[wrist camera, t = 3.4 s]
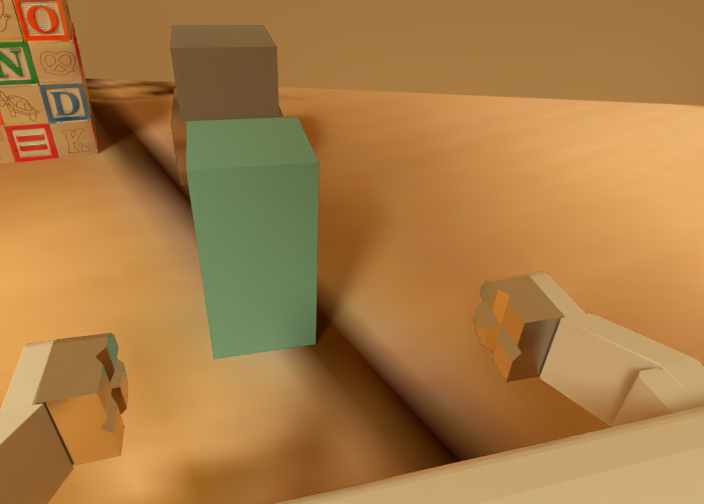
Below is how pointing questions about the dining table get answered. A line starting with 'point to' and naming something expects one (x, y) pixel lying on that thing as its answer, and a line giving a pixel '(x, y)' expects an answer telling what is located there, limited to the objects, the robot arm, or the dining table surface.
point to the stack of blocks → (42, 84)
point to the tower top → (224, 72)
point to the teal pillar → (255, 231)
